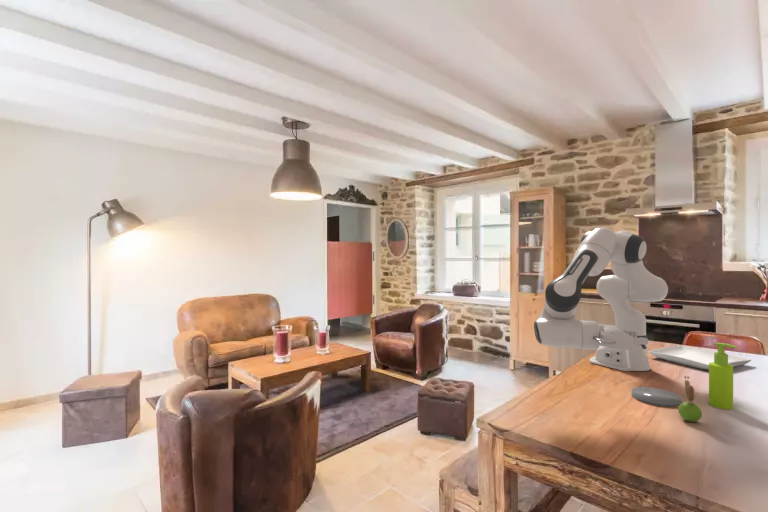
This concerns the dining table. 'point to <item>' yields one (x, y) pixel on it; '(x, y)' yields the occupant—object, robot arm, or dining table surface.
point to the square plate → (693, 356)
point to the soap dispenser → (721, 379)
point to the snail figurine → (689, 405)
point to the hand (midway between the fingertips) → (641, 337)
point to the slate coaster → (656, 396)
